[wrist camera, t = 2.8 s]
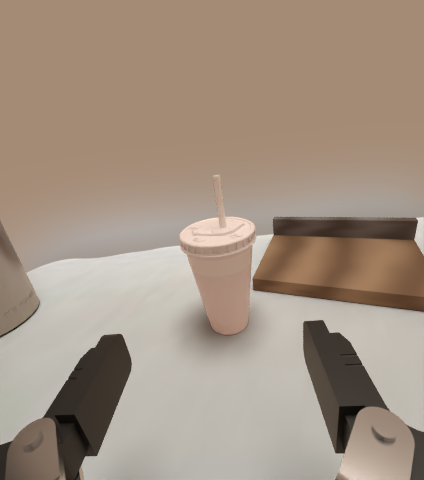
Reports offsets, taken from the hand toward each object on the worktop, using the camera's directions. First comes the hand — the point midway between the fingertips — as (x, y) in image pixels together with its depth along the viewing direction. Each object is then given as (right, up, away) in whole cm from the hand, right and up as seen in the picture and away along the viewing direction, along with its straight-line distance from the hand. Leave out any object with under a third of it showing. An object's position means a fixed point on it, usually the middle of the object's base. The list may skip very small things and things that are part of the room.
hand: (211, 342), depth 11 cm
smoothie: (+2, -4, +14) cm, 14 cm away
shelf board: (+15, +1, +20) cm, 25 cm away
